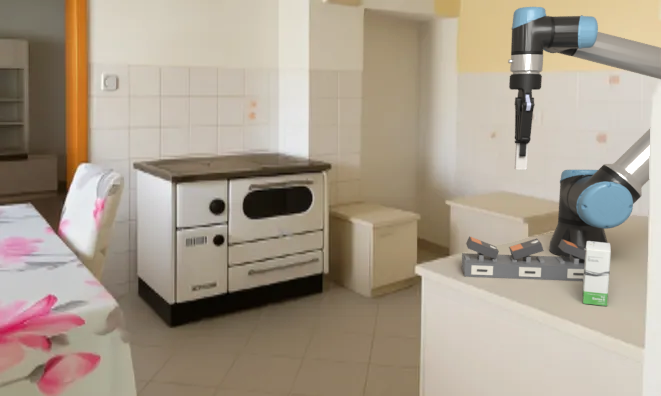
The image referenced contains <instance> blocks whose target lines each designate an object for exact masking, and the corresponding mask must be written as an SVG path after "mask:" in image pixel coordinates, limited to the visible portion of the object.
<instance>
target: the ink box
mask: <svg viewBox="0 0 661 396" xmlns="http://www.w3.org/2000/svg"><path fill="white" fill-rule="evenodd" d="M611 248H612V247H611V243H610V242H608V243H603V242H594V241H587V243H586V253H585V264H584V276H583V281H582V304H584V305H585V304H587V305H594V306H603V307H608V301H609V300H608V299H609V288H610V287H609V286H610V272H611V257H612V251H611V250H612V249H611Z"/></svg>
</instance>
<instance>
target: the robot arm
mask: <svg viewBox="0 0 661 396" xmlns="http://www.w3.org/2000/svg"><path fill="white" fill-rule="evenodd" d="M546 11H547V10H546V8H544V7H541V6H524V7H518V8H517V9H516V10H514V11H513V15H512V17H513V18H512V26H511V48H510V59H508V60H507V63H508V64H510V67H509V68H510V69H509V71H510V72H511V74H510V75H509V84H508V88H509V90H514V91H515V90H518V91H517V97H516V96H515V98H514V111H515V112H514V144H515V157H514V158H515V159H514V170H520V171H521V170H522V171H523V170H524V171H527V169H528V156H529V155H528V151H529V143H530V141H531V135H532V127H533V126H532V124H533V115H534V109H535V97H533V90H541V89H542V79H543V75H542V74H540V73H541V72H542V71H543V65H544V51H545V52H547V53H550V54H561V55H564V56H569V57H573V58H577V59H581V60H584V61H585V60H586V61H588V62H592V63H596V64H601V65H603V66H608V67H611V68H615V69H616V68H617V69H619V70H624V71H626V72H631V73H635V74H638V75H643V76H646V77H650V78H654V79H657V80H661V47H660V46H655V45H653V44H648V43H645V42H640V41H637V40H632V39H628V38H625V37H624V38H623V37H621V36H617V35H612V34H608V33H605V32H602V31H599V25H598V24H599V23H598V20H597V18H596V17H595V16H590V15H569V16H568V15H566V16H564V15H563V16H561V15H560V16H550V15H547V13H546ZM649 156H650V128H648V130H647V131H646V132H645V133H643V135H641V136H640V137H639V138H638V139H637V141H635V142H634V143H633V144H632V145H631V146H630V147H629V148H628V149H627V150H626V151H625V152H624V153H623V154H622V155H621V156H619V158H618V159H617V160H616V161H615V162H614V163H604V164H602V166H601V167H600V168H598V169H565V170H562V172H561V175H560V179H559V200H558V216H557V217H558V218H557V225H556V227H555V230H554V232H553V235H552V236H551V239H550V242H549V251H550V252H551V253H552V254H554V255H557V256H559V257H570V254H568V253H566V252H563V251H562V250H561V249H560V248H559V247H558V246H559V244H560V242H561V239H563V240H566V241H568V242H571V243H573V244H576V245H578V246H581V247H584V248H586V243H587V241H594V242H603V243H609V242H608V240H607V239H608V238H607V235H606V232H605V229H612V228H616V227H619V226H620V225H622V224H624V223H625V222H626V221H627V220H628V219H629V218H630V216H631V214H632V213H633V209H634V208H633V207H634V204H635V203H636V202H637V201H638V200H639V199H641V197H642V187H643V186H644V185H646V183H648V182H649V181H650V179H649Z"/></svg>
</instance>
